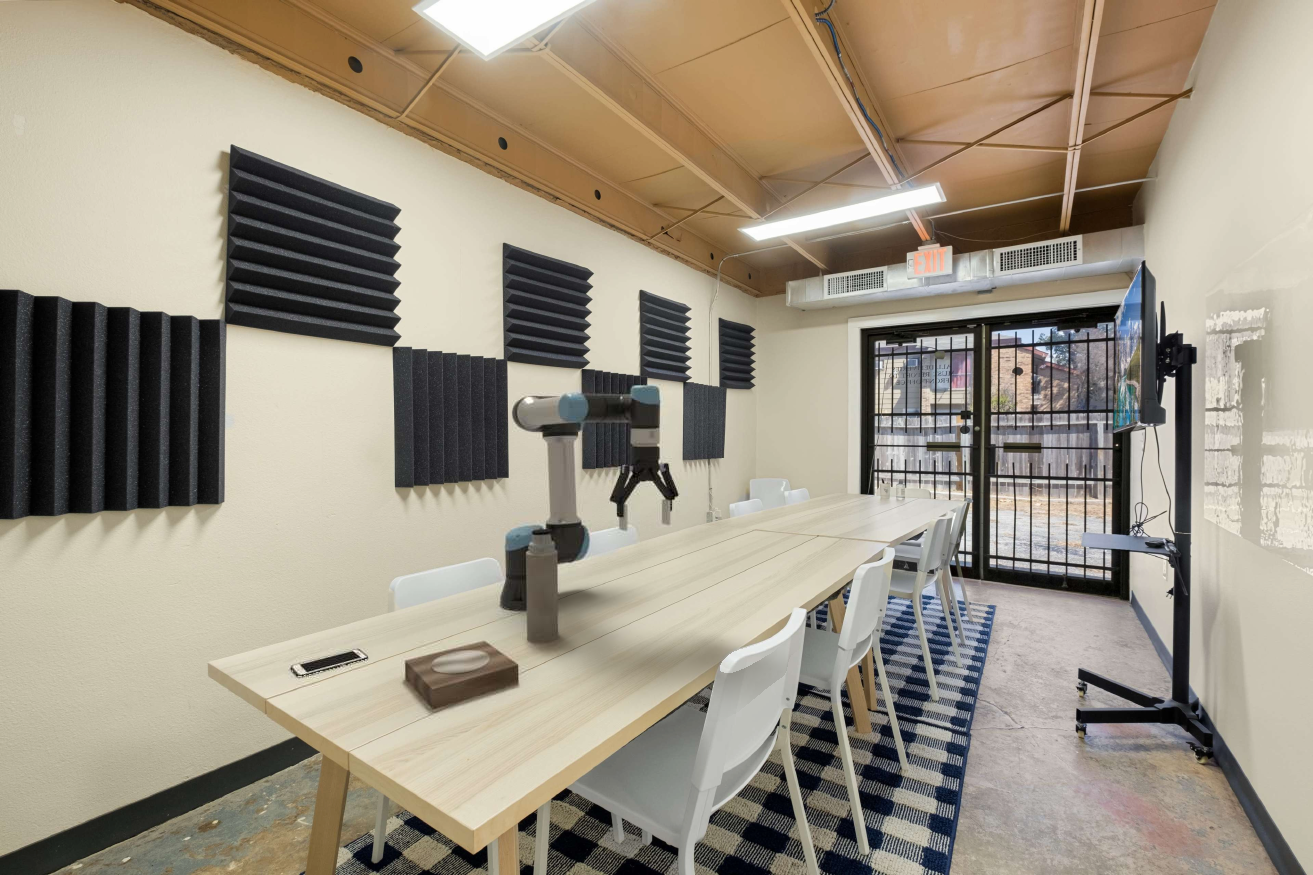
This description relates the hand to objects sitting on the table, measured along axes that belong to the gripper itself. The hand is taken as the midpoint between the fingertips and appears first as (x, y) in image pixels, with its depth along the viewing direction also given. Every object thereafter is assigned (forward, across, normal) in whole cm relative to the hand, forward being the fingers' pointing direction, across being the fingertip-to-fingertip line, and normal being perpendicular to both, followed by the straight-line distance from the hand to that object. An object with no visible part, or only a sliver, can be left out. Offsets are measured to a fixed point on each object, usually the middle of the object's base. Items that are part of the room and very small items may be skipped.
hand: (645, 527), depth 151 cm
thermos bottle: (+29, -22, +15) cm, 39 cm away
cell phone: (+29, -69, +30) cm, 80 cm away
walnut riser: (+28, -47, +2) cm, 55 cm away
